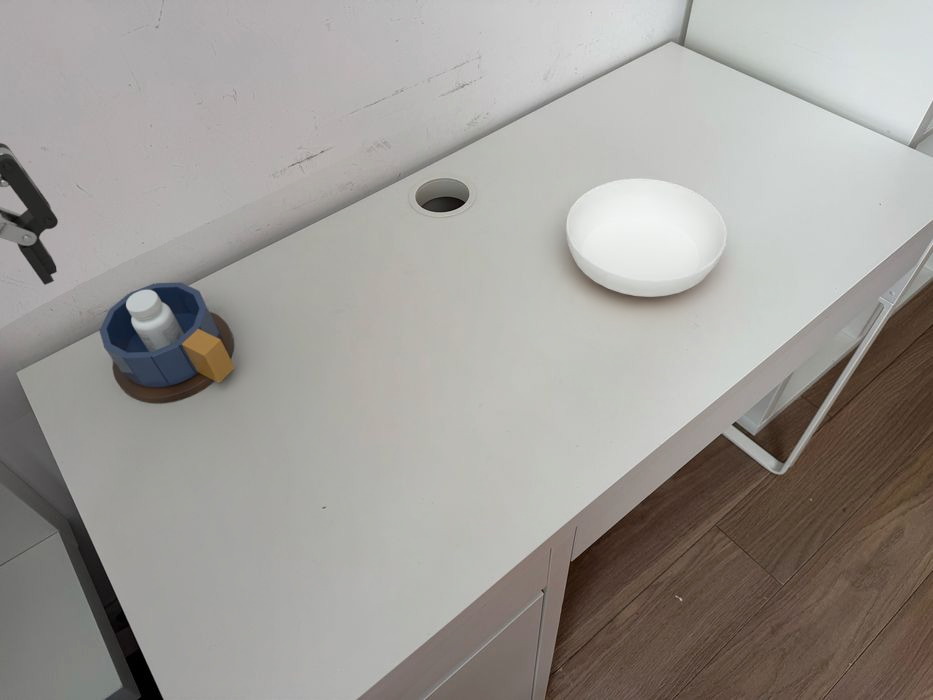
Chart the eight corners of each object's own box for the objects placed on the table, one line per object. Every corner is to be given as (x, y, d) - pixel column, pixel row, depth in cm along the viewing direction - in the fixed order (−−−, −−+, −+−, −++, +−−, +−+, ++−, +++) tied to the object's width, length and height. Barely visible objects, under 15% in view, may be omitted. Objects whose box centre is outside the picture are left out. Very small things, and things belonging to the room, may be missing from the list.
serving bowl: (100, 364, 81) (78, 334, 77) (172, 301, 87) (155, 270, 83) (192, 414, 76) (173, 384, 72) (261, 343, 82) (248, 312, 78)
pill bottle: (186, 327, 83) (160, 281, 77) (188, 353, 81) (162, 308, 75) (149, 337, 83) (120, 292, 77) (150, 363, 80) (120, 319, 74)
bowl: (740, 247, 90) (752, 209, 86) (675, 341, 81) (685, 304, 76) (608, 197, 98) (612, 161, 94) (535, 277, 89) (536, 241, 84)
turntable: (138, 424, 77) (133, 418, 76) (102, 348, 85) (98, 342, 84) (252, 364, 82) (249, 358, 81) (209, 298, 90) (205, 291, 89)
